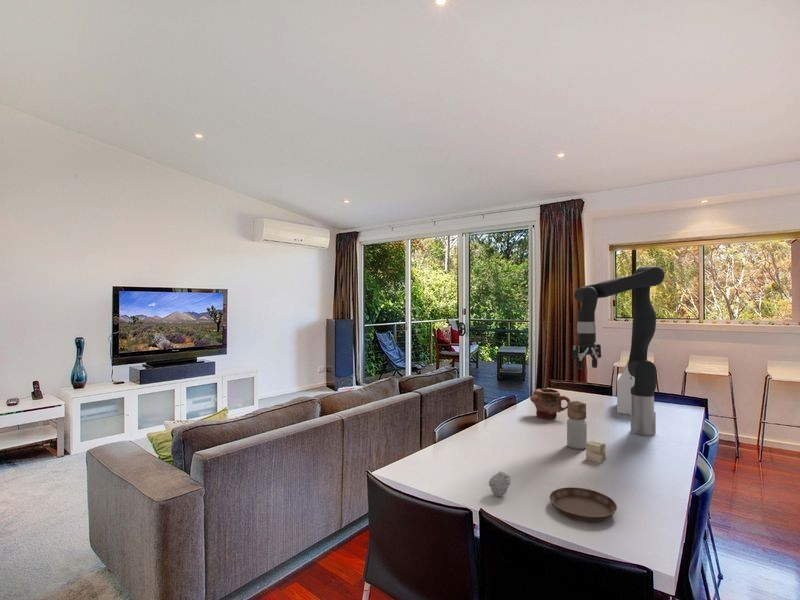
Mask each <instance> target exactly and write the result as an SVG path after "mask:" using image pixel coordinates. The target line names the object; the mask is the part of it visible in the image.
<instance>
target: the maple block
mask: <svg viewBox="0 0 800 600" xmlns="http://www.w3.org/2000/svg"><path fill="white" fill-rule="evenodd" d="M606 446H607V445H606V443H605V442H601V441H597V440H594V439H592V440H590V441H587V443H586V447H585V459H587V460H590V461H593V462H597V463H601V462H603V461H605V460H607V459H606V452H607V451H606V449H607V448H606Z"/></svg>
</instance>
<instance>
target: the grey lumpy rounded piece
mask: <svg viewBox="0 0 800 600" xmlns="http://www.w3.org/2000/svg"><path fill="white" fill-rule="evenodd" d="M511 482H512V480H511V476H510V475H509V474H507V473H506V472H504V471H501V470H500V471H498V472H497V473H495V474H494V475H492V477H491V478H489V480H488V486H489V487H490V490H491V493H492V494H493V495H495V496H496V497H503V496H505V495H506V494H507V492H508V489H509V487H510V485H511Z"/></svg>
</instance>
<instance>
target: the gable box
mask: <svg viewBox="0 0 800 600" xmlns="http://www.w3.org/2000/svg"><path fill="white" fill-rule="evenodd" d="M626 359H627V363H625V365H624V367H623V368H622V370H620V372H618V374H617V379H616V413H617V414H626V415H631V387H633V386H634V384H635V377H633V376H631V375H630V373H629V371H628V361H629V358H626Z"/></svg>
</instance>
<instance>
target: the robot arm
mask: <svg viewBox="0 0 800 600" xmlns="http://www.w3.org/2000/svg"><path fill="white" fill-rule="evenodd" d="M664 279H665V272H664V270H663V269H662V268H661V267H660V266H656V265H648V266H647V265H646V266H640V267H638V268H637V269H636V270H635V271H634V274H631V275H628V276H627V275H626V276H622V277H615V278H610V279H607V280H604V281H601V282H599V283H594V284H589V285H584V286H580V287H579V288H576V289H575V291H574V294H573V295H574V296H573V297H574V299H575V300H576V301H577V302H578V303H581V308H579V309H578V310H577V326H576V331H577V332H576V335H577V336H576V337H577V338H576V339H577V340H576V342H577V343H578V345H572V346H571V347H572V350H571V351H572V355H571V359H572V360H575V363H576V365H575V367H576V369H577V370H582V369H583V358H584V357H585V356H590V357H591V368H593V369H597V368H598V360H599V359H600V358H602V348H601V344H598V343H596V341H597V333H596V332H597V328H596V313H595V312H596V309H597V304H598V300H599V299H603V298H608V297H611V296H614V295H618V294H621V293H624V292H627V291H628V292H629V291H631V290H633V295H634V296H633V313H632V322H631V323H632V325H631V326H632V327H631V328H632V329H631V344H630V352H629V357H628V360H629V361H628V371H629V373H630V375H631V376H633V377H635V384H634V386H633V387H631V414H630V432H631V433H632V434H636V435H640V436H646V437H647V436H654V435H655V434H656V431H657V429H656V428H657V426H656V425H657V424H656V423H657V419H656V418H657V416H656V412H655V391H656V389H657V377H658V376H657V375H658V374H657V367H656V365H655V363H654V362H652V361H650V360H649V359H648V349H649V347H650V343H651V342H652V339H653V338H654V336H655V332H656V328H657V327H656V325H657V315H656V311H655V309H654V306H653V303H652V301H651V287H657V286H659V285H661V284H662V283H663V282H664Z"/></svg>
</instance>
